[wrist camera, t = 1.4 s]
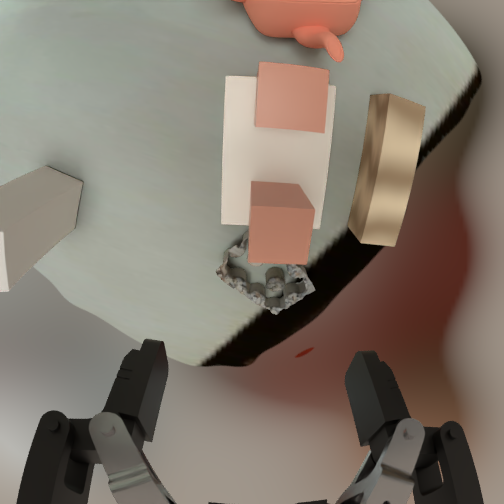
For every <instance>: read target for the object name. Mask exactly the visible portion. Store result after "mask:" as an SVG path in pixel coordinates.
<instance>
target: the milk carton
mask: <svg viewBox="0 0 504 504" xmlns="http://www.w3.org/2000/svg"><path fill="white" fill-rule="evenodd" d="M82 186H83V182H82V181H79V180H77V179H75V178H73V177H70V176H68V175H66V174H63V173H61V172H59V171H57V170H54V169H52V168H50V167H47V166H44V167H41V168H39V169H37V170H34V171H32V172H30V173H27V174H25V175H23V176H21V177H19V178H16V179H14V180H12V181H10V182H8V183H6V184H4V185H2V186H0V292H6V291H9V290H10V289H11V288H12V287H13V286H14V285H15V284H16V283H17V282H18V281H19V279H21V278H22V277H23V275H24V274H25V273H26V272H27V271H28V270H30V268H32V267H33V266H34V265H35V264H36V263H37V262H38V261H39V260H40V259H41V258H42V257H43V256H44V255H45V254H46V253H47V252H48V251H50V250H51V249H52V248H53V247H54V246H55V245H56V244H57V243H58V242H60V241H61V240H62V239H63V238H64V237H65V236H67V235H68V234H69V233H70V232H71V231H72V230H74V229H75V225H76V218H77V212H78V206H79V201H80V195H81V190H82Z"/></svg>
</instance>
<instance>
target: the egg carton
mask: <svg viewBox="0 0 504 504" xmlns="http://www.w3.org/2000/svg"><path fill="white" fill-rule="evenodd" d="M248 237H249V230H248V231H247V232H246V233H244V235H243V242H242V243H241V245H240V247H239V246H237V245H235V246H234V247H232V248H228V249H227V250H226V251H225V252H224V257H223V262H224V263H223V264H222V265H220V267H219V268H218V269H217V270H216V273H217V275H218V276H219V277H220V278H221V280H223V281H224V282H226V283H227V284H228V285H229V286H230V287H232V288H236V289H237V290H238V291H239V292H240V293H241V294H244V295H245V296H246V297H248V298H249V299H250V300H251V301H252V302H254V303H256V304H258V305H260V306H263V307H264V308H267V309H270V311H271V312H272V313H273V314H276V315H277V314H278V313H279V311H280V310H282V309H284V308H285V309H287V308H288V307H289V306H290V305H291V304H295V303H296V302H297V301H299V300H301V299H303V297H304V296H305V295H306V294H309V293H311V292H313V291H315V288H314V286H313V284H312V283H311V281H310V280H309V278H308V276H307V273H306V270H305V268H304V267H303V266H302V265H298V266H297V265H296V264H286V265H287V271H288V273H289V275H290V276H291V277H293V278H298V277H299V278H300V279H301V278H303V281H301V282H300V283H288V284H286V285H285V279H284V274H283V271H282V270H281V269H280V268H277V267H272V268H270V269H268V270H267V272H266V288H267V289H269V290H271V291H279V290H282V289H283V294H284V296H283V297H281V298H280V299H279V298H276V297H270V298H266V297H265V290H264V287H263V285H262V284H260V283H252V284H250V283H248V282H247V281H246V272H245V271H244V269H242V268H239V267H235V268H232V269H231V268H229V267H228V266H227V265H226V263H227V262H228V256H231V257H239V256H242V255H243V254H244V252H245V250H246V239H248ZM247 262H248V256H247ZM248 263H249V264H250V265H252V266H261V265H262V264H263V263H250V262H248Z"/></svg>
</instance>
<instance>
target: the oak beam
mask: <svg viewBox="0 0 504 504" xmlns="http://www.w3.org/2000/svg"><path fill="white" fill-rule="evenodd" d="M425 108H426V107H425V106H422V105H420V104H417V103H415V102H412V101H409V100H407V99H404V98H401V97H398V96H396V95H393V94H377V95H370V103H369V111H368V118H367V126H366V132H365V139H364V145H363V151H362V157H361V162H360V168H359V173H358V178H357V183H356V188H355V193H354V198H353V203H352V207H351V212H350V216H349V220H348V225H347V226H348V227H349V228H350V230H351V231H352V232H353V233H354V235H355V236H356V237H357V239H358V240H359V241H360V243H367V244H376V245H385V246H395V244H396V241H397V237H398V234H399V231H400V227H401V224H402V221H403V217H404V214H405V210H406V207H407V203H408V199H409V195H410V191H411V187H412V182H413V178H414V173H415V169H416V164H417V159H418V154H419V148H420V143H421V137H422V130H423V123H424V116H425Z"/></svg>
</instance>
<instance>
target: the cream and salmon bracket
mask: <svg viewBox="0 0 504 504" xmlns="http://www.w3.org/2000/svg"><path fill="white" fill-rule="evenodd" d="M328 83H329V70H327V69H321V68H315V67H308V66H301V65H292V64H283V63H272V62H259V67H258V73H257V77H249V76H226V85H225V105H224V129H223V159H222V210H221V224H229V225H249V237H248V262H250V263H274V264H300V265H307V260H308V254H309V248H310V242H311V235H312V229H320V223H321V217H322V210H323V204H324V197H325V190H326V182H327V175H328V167H329V158H330V150H331V141H332V131H333V120H334V109H335V96H336V86H331V85H328Z"/></svg>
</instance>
